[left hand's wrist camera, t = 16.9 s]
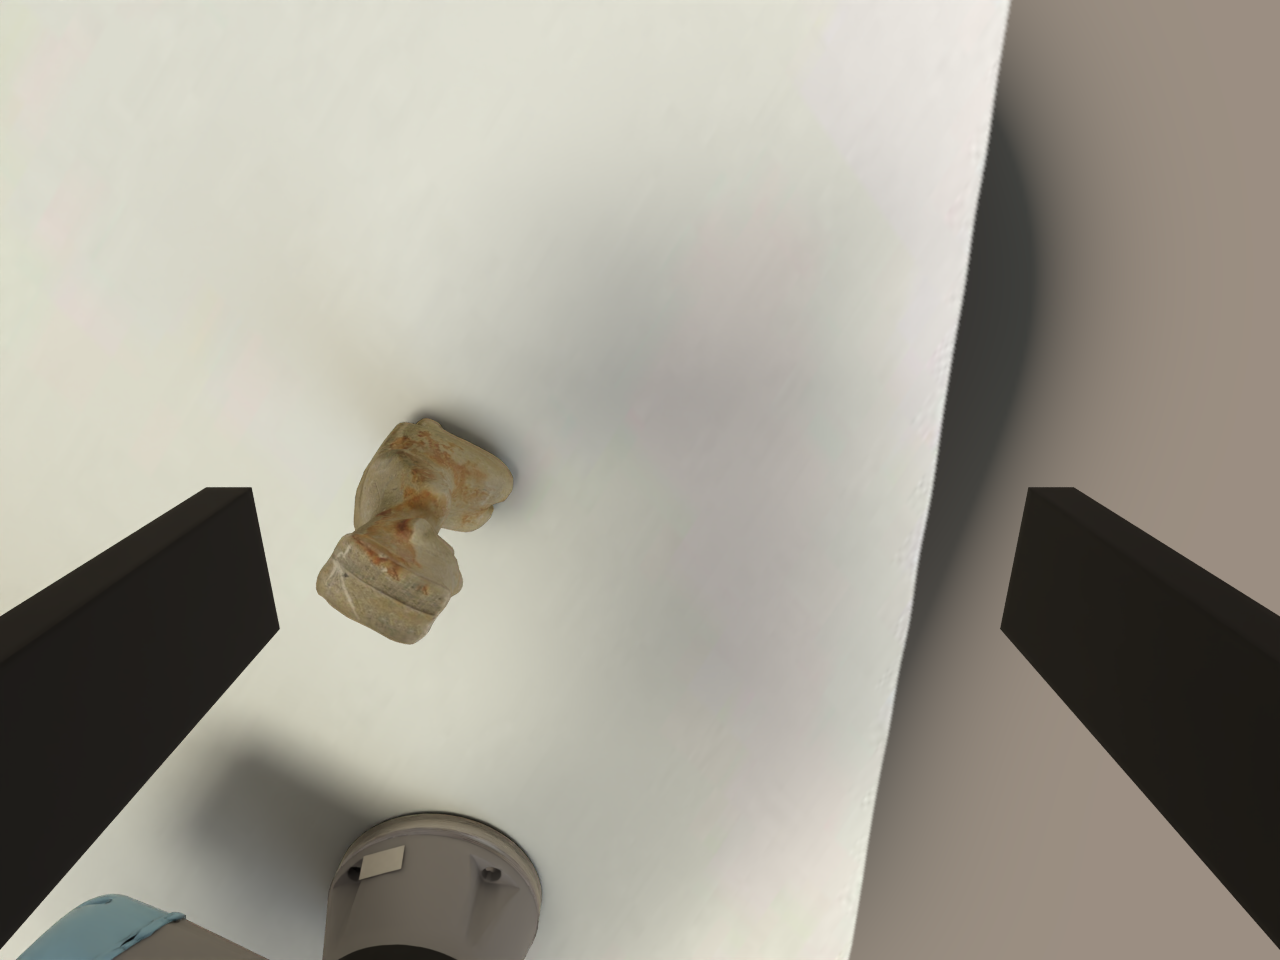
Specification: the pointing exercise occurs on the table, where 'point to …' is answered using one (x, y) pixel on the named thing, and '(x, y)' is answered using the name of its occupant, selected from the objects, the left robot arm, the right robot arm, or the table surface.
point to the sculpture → (411, 529)
